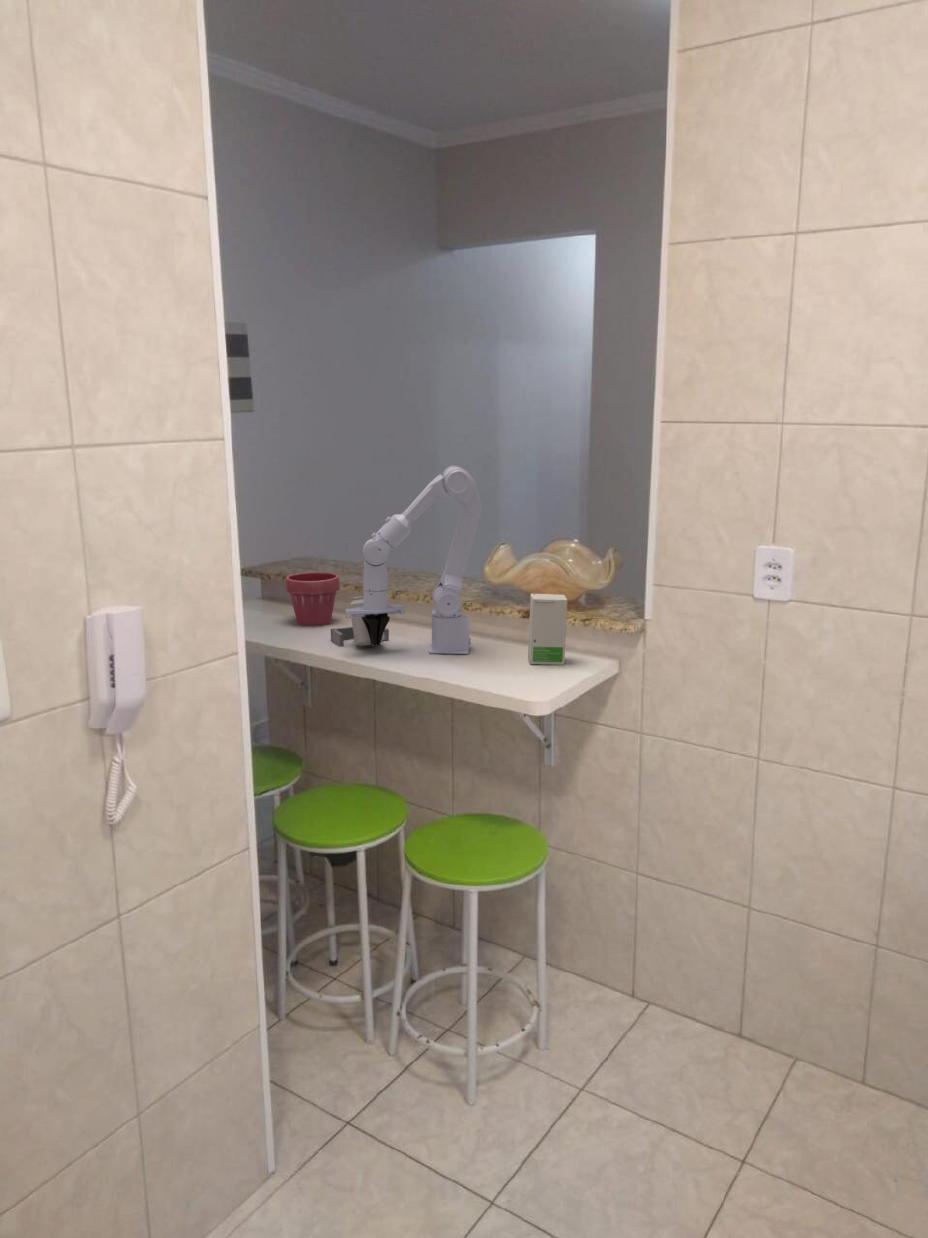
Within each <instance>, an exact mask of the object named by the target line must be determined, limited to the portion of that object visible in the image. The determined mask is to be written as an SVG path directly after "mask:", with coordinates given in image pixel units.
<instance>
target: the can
mask: <svg viewBox="0 0 928 1238" xmlns="http://www.w3.org/2000/svg"><path fill="white" fill-rule="evenodd" d="M362 606H364V595H363V596H360V595H359V596H356V597H355V596H354V597H351V602H350V603H349V609H352V608H357V607H362ZM351 625H352V626H351V627H353V634H354V639H353V640H354V644H356V645H357V646H359V647H360V646H361V647H362V646H369V645H370V646H372V645H371V641H370V637H369V633H368V630H367V628H366V626H365V623H364V622H363V620H362V617H355V618H352V619H351ZM384 639H385V634H384V632H383V635H382V639H381V643H380V644H383V642H384Z"/></svg>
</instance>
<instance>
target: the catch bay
mask: <svg viewBox="0 0 928 1238" xmlns="http://www.w3.org/2000/svg"><path fill="white" fill-rule="evenodd" d="M389 630H390V629H389V628H387V627H386V628H385V630H384V634H385V639H384V640H383V642H389V641H390V639H389V637H390V634H389V633H390V631H389ZM347 640H354V634H353V626H347V627H337V628H330V641H331V642H332V643H335V645H337V646H338V647H344V645H345V644H344V643H345V642H344V641H347Z"/></svg>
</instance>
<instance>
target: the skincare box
mask: <svg viewBox="0 0 928 1238" xmlns="http://www.w3.org/2000/svg"><path fill="white" fill-rule="evenodd" d="M529 596H530V604H529V626H528V647H527V658H528V662H529V663H530V664H529V665H553V666H554V665H555V666H557V665H558V666H565V657H566V641H567V640H566V639H567V638H566V636H567V635H566V634H567V617H568V616H567V615H568V600H569V599H568V598H567V597H566V595H565V594H552V593H530V595H529Z"/></svg>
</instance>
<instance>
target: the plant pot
mask: <svg viewBox="0 0 928 1238" xmlns="http://www.w3.org/2000/svg"><path fill="white" fill-rule="evenodd" d="M339 577H340V576H339V575H338V574H337V573H335V572H334V573H333V572H328V571H327V572H325V571H307V572H297V573H292V574H289V575H288V576H286V578H285V579H286V581H285V582H286V586H285V587H286V591H287V592H288V593H289V595H290V598H291V599H290V600H291V603H292V607H293V610H294V611H293V612H294V615H295V618H296V623H297V624H298V625H301V626H307V627H308V626H309V627H314V626H315V627H317V626H324V625H328V624H330V623H331V622H332V618H333V612H334V606H335V601H336V594H337V591H339V590H340V579H339Z"/></svg>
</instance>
